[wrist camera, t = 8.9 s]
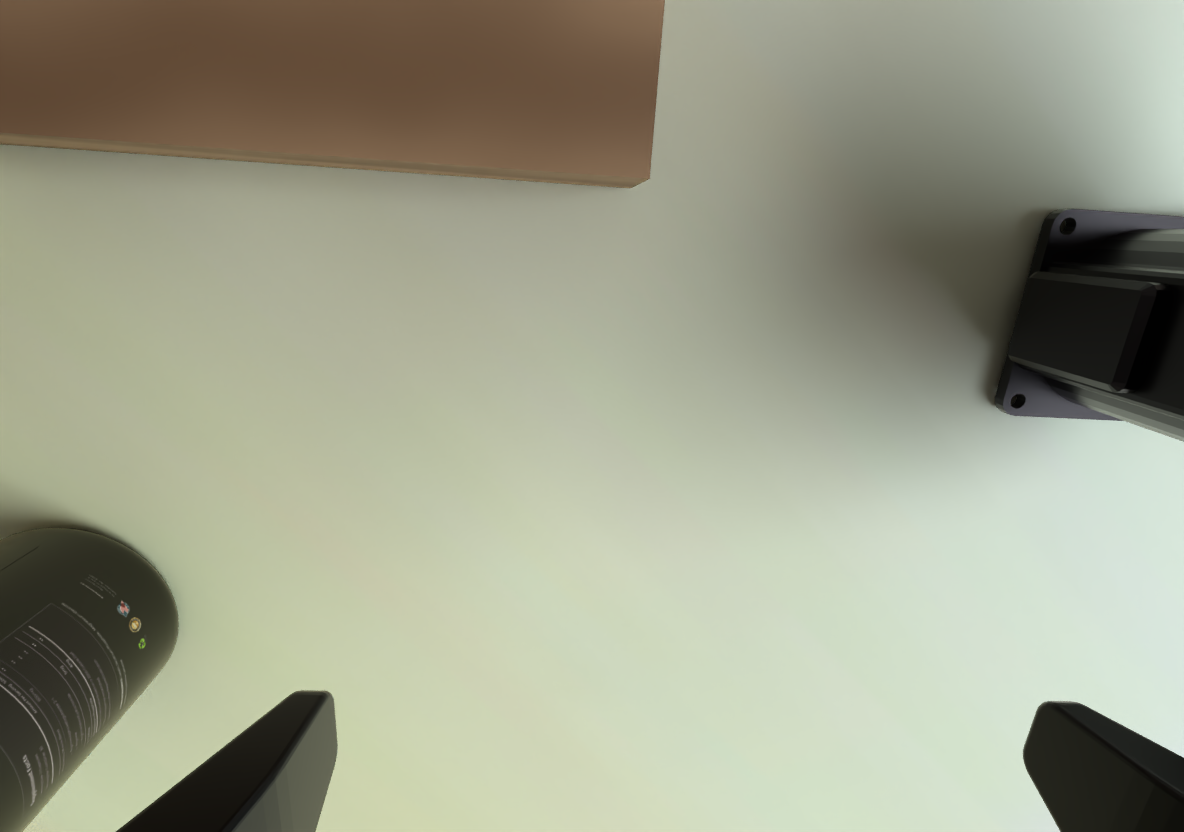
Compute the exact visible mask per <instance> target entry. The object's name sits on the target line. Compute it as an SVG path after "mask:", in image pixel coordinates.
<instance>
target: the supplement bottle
mask: <svg viewBox="0 0 1184 832" xmlns="http://www.w3.org/2000/svg"><path fill="white" fill-rule="evenodd" d="M178 624H179V622H178V613H177V607H176V604H175V601H174V598H173V596H172V593H171V591H170V589H169V587H168V586H167V584H166V582H165V581H164V579H163V578H162V576H161V575H160V574H159V573H158V572H157V570H156V569H155V568H154V567H153V566H152V565H151V564H150V563H149V562H148V561H146V560H145V559H144V558H143V557H142V556H140V555H139V554H138V553H136V552H135V551H133V550H132V549H130V548H128V547H127V546H125V545H123V544H121V543H119V542H117V541H115V540H113V539H111V538H108V537H106V536H103V535H100V534H97V533H93V532H89V531H84V530H78V529H71V528H40V529H34V530H28V531H24V532H20V533H16V534H14V535H11V536H8V537H6V538H4V539H1V540H0V832H23V831H24V829H25V828H26V827H27V826H28V825H29V824H30V822H31V821H32V820H33V819H34V818H35V817H36V816H37V814H38V813H39V812H40V811H41V810H42V809H43V807H44V806H45V805H46V804H47V803H48V802H49V800H50V799H51V798H52V797H53V796H54V795H55V794H56V792H57V791H58V790H59V789H60V788H61V787H62V785H63V784H64V783H65V782H66V781H67V780H68V778H69V777H70V776H71V775H72V774H73V773H74V771H75V770H76V769H77V768H78V767H79V766H80V765H81V763H82V762H83V761H84V760H85V759H86V758H87V756H88V755H89V754H90V753H91V752H92V751H93V749H94V748H95V747H96V746H97V745H98V744H99V743H100V741H101V740H102V739H103V738H104V737H105V736H106V734H107V733H108V732H109V731H110V730H111V729H112V727H113V726H114V725H115V724H116V723H117V722H118V721H119V719H120V718H121V717H122V716H123V715H124V714H125V712H126V711H127V710H128V709H129V708H130V707H131V705H132V704H133V703H134V702H135V701H136V700H137V699H138V697H139V696H140V695H141V694H142V693H143V692H144V690H145V689H146V688H147V687H148V685H149V684H150V683H151V682H152V681H153V679H154V678H155V677H156V676H157V675H158V673H159V672H160V671H161V670H162V669H163V667H164V666H165V664H166V663H167V661H168V660H169V658H170V656H171V654H172V652H173V650H174V647H175V644H176V641H177V636H178Z"/></svg>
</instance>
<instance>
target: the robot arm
mask: <svg viewBox="0 0 1184 832" xmlns="http://www.w3.org/2000/svg"><path fill="white" fill-rule="evenodd" d="M1063 220H1065V222H1066V227H1065V229H1064V231H1063V232H1062V233H1061V232H1060V225H1061V223H1062V221H1063ZM1016 394H1017V399H1016V401H1015V402H1014V403H1013V404H1011V399H1012V397H1013V396H1015V395H1016ZM995 404H996V407H997V408H998V409H999V410H1000V411H1002V412H1005V413H1007V414H1010V415H1014V416H1033V417H1054V418H1075V419H1096V420H1117V421H1126V422H1129V423H1132V424H1135V425H1138V426H1141V427H1144V428H1146V429H1149V430H1152V431H1155V432H1158V433H1161V434H1164V435H1166V436H1169V437H1172V438H1175V439H1178V440H1181V441H1183V442H1184V217H1180V216H1166V215H1152V214H1138V213H1124V212H1110V211H1096V210H1082V209H1060V210H1055V211H1054V212H1052V213H1050V214H1049V215H1048V216H1047V217H1046V219H1045V221H1044V223H1043V225H1042V228H1041V232H1040V236H1039V239H1038V243H1037V247H1036V250H1035V254H1034V258H1033V261H1032V265H1031V268H1030V272H1029V276H1028V279H1027V283H1026V287H1025V290H1024V294H1023V298H1022V301H1021V305H1020V309H1019V312H1018V316H1017V320H1016V323H1015V327H1014V331H1013V334H1012V338H1011V341H1010V345H1009V349H1008V353H1007V356H1006V360H1005V364H1004V367H1003V371H1002V374H1001V378H1000V382H999V385H998V389H997V393H996V396H995ZM336 756H337V732H336V720H335V708H334V699H333V697H332V694H331V693H330V692H328V691H304V690H301V691H296V692H294V693H292V694H291V695H289V696H288V697H287V698H285V699H284V700H283V701H282V702H280V703H279V704H278V705H277V706H275V707H274V708H273V709H271V710H270V711H269V712H268V713H266V714H265V715H264V716H263V717H261V718H260V719H259V720H257V721H256V722H255V723H254V724H252V725H251V726H250V727H249V728H247V729H246V730H245V731H243V732H242V733H241V734H240V735H238V736H237V737H236V738H235V739H233V740H232V741H231V742H229V743H228V744H227V745H226V746H224V747H223V748H222V749H221V750H219V751H218V752H217V753H215V754H214V755H213V756H212V757H210V758H209V759H208V760H207V761H205V762H204V763H203V764H201V765H200V766H199V767H198V768H196V769H195V770H194V771H193V772H191V773H190V774H189V775H187V776H186V777H185V778H184V779H182V780H181V781H180V782H179V783H177V784H176V785H175V786H173V787H172V788H171V789H170V790H168V791H167V792H166V793H165V794H163V795H162V796H161V797H159V798H158V799H157V800H156V801H154V802H153V803H152V804H151V805H149V806H148V807H147V808H145V809H144V810H143V811H142V812H140V813H139V814H138V815H137V816H135V817H134V818H133V819H131V820H130V821H129V822H128V823H126V824H125V825H124V826H123V827H121V828H120V829H119V830H117V831H116V832H315V831H316V828H317V824H318V821H319V817H320V814H321V811H322V807H323V804H324V800H325V797H326V794H327V790H328V787H329V783H330V780H331V777H332V773H333V770H334V766H335V762H336ZM1023 759H1024V764H1025V767H1026V769H1027V772H1028V774H1029V775H1030V777H1031V779H1032V781H1033V783H1034V784H1035V786H1036V788H1037V790H1038V792H1039V794H1040V795H1041V797H1042V799H1043V801H1044V803H1045V804H1046V806H1047V808H1048V810H1049V812H1050V813H1051V815H1052V817H1053V819H1054V821H1055V822H1056V824H1057V826H1058V828H1059V830H1060V831H1061V832H1184V758H1183V757H1181V756H1179V755H1177V754H1176V753H1174V752H1172V751H1170V750H1168V749H1166V748H1164V747H1162V746H1160V745H1159V744H1157V743H1155V742H1153V741H1151V740H1149V739H1147V738H1145V737H1143V736H1142V735H1140V734H1138V733H1136V732H1134V731H1132V730H1130V729H1128V728H1126V727H1124V726H1123V725H1121V724H1119V723H1117V722H1115V721H1113V720H1111V719H1109V718H1107V717H1106V716H1104V715H1102V714H1100V713H1098V712H1096V711H1094V710H1092V709H1090V708H1089V707H1087V706H1085V705H1083V704H1080V703H1077V702H1071V701H1047V702H1043V703H1042V704H1041V705H1040V706H1039V707H1038V709H1037V711H1036V714H1035V717H1034V720H1033V722H1032V725H1031V728H1030V731H1029V734H1028V737H1027V739H1026V742H1025V745H1024V749H1023Z"/></svg>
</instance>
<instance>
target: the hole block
mask: <svg viewBox="0 0 1184 832" xmlns="http://www.w3.org/2000/svg"><path fill="white" fill-rule="evenodd" d="M664 2H665V0H0V144H6V145H20V146H35V147H49V148H63V149H78V150H92V151H106V152H121V153H135V154H149V155H163V156H178V157H192V158H206V159H221V160H235V161H249V162H264V163H278V164H292V165H307V166H321V167H335V168H349V169H364V170H378V171H392V172H407V173H421V174H435V175H450V176H464V177H478V178H493V179H507V180H521V181H535V182H550V183H564V184H578V185H593V186H607V187H621V188H632V187H634V186H636V185H638V184H640V183H642V182H644V181H646V180H648V179H650V167H651V155H652V143H653V132H654V120H655V108H656V96H657V85H658V73H659V61H660V49H661V38H662V26H663V14H664Z"/></svg>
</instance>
